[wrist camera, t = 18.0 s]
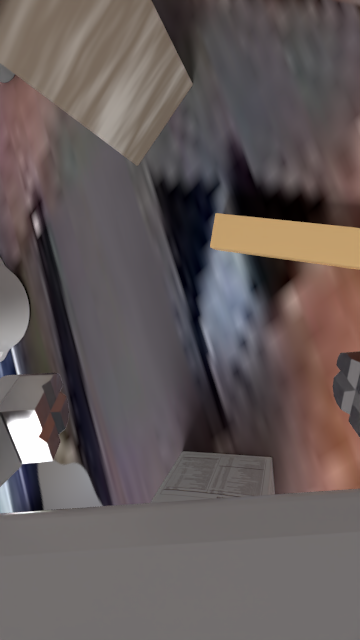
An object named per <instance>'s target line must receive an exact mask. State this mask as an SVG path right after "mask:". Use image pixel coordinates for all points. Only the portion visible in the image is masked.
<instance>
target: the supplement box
mask: <svg viewBox="0 0 360 640" xmlns="http://www.w3.org/2000/svg"><path fill="white" fill-rule="evenodd" d="M274 494H275V488H274V476H273V463H272V458H271V457H261V456H247V455H233V454H218V453H204V452H189V451H183V452H182V453H181V455H180V456H179V458H178V460H177V461H176V463H175V464H174V466H173V467H172V469H171V471H170V472H169V474H168V475H167V477H166V479H165V480H164V482H163V483H162V485H161V486H160V488H159V490H158V491H157V493H156V494H155V496H154V498H153V499H152V501H151V502H150V503H159V502H173V501H187V500H202V499H216V498H230V497H245V496H259V495H274Z"/></svg>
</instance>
